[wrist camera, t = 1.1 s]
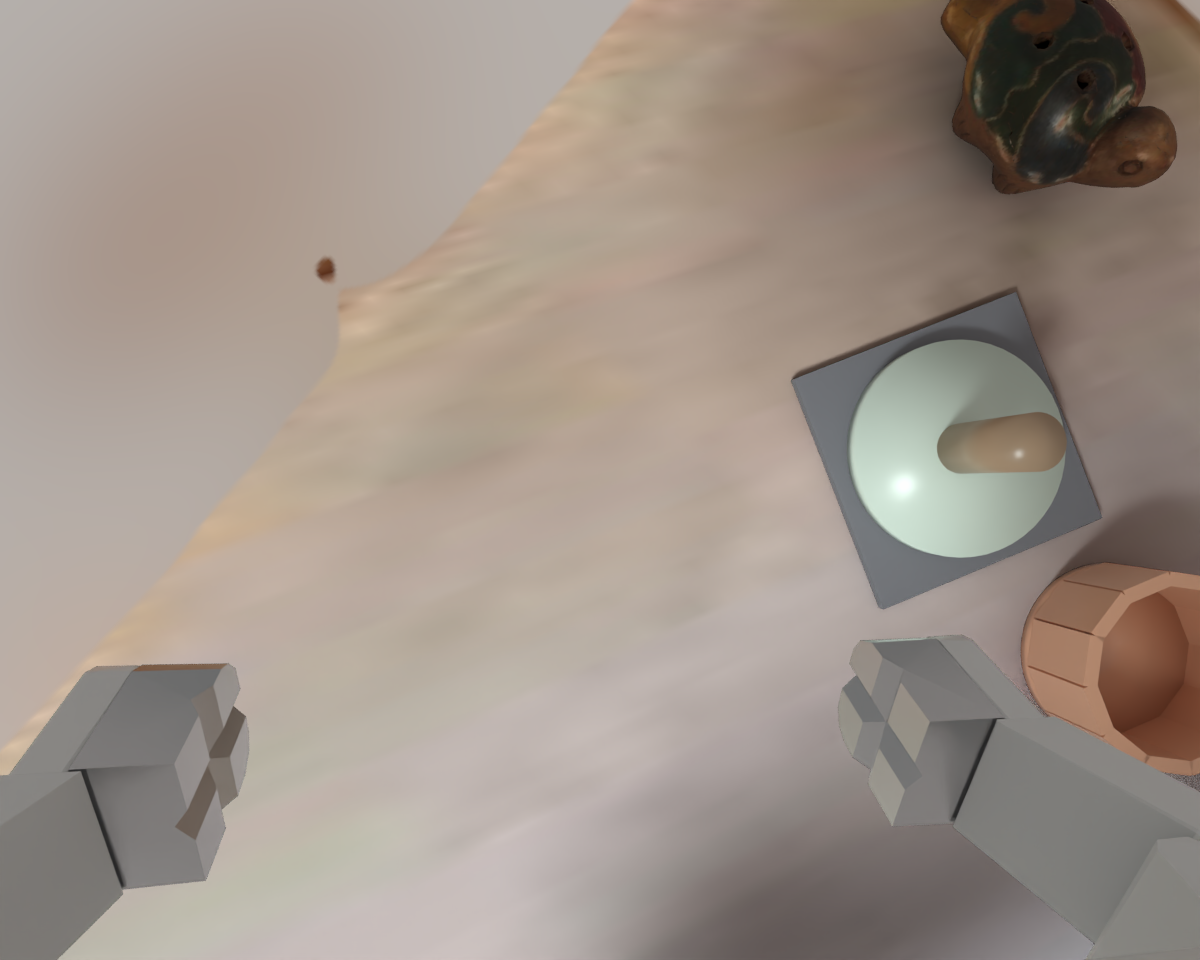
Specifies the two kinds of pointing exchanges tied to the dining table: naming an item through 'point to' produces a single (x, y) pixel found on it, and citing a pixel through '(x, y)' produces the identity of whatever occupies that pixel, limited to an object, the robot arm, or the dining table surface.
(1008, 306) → the mat
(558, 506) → the dining table surface
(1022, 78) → the decorative turtle
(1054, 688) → the bowl
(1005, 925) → the dining table surface
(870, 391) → the lid
